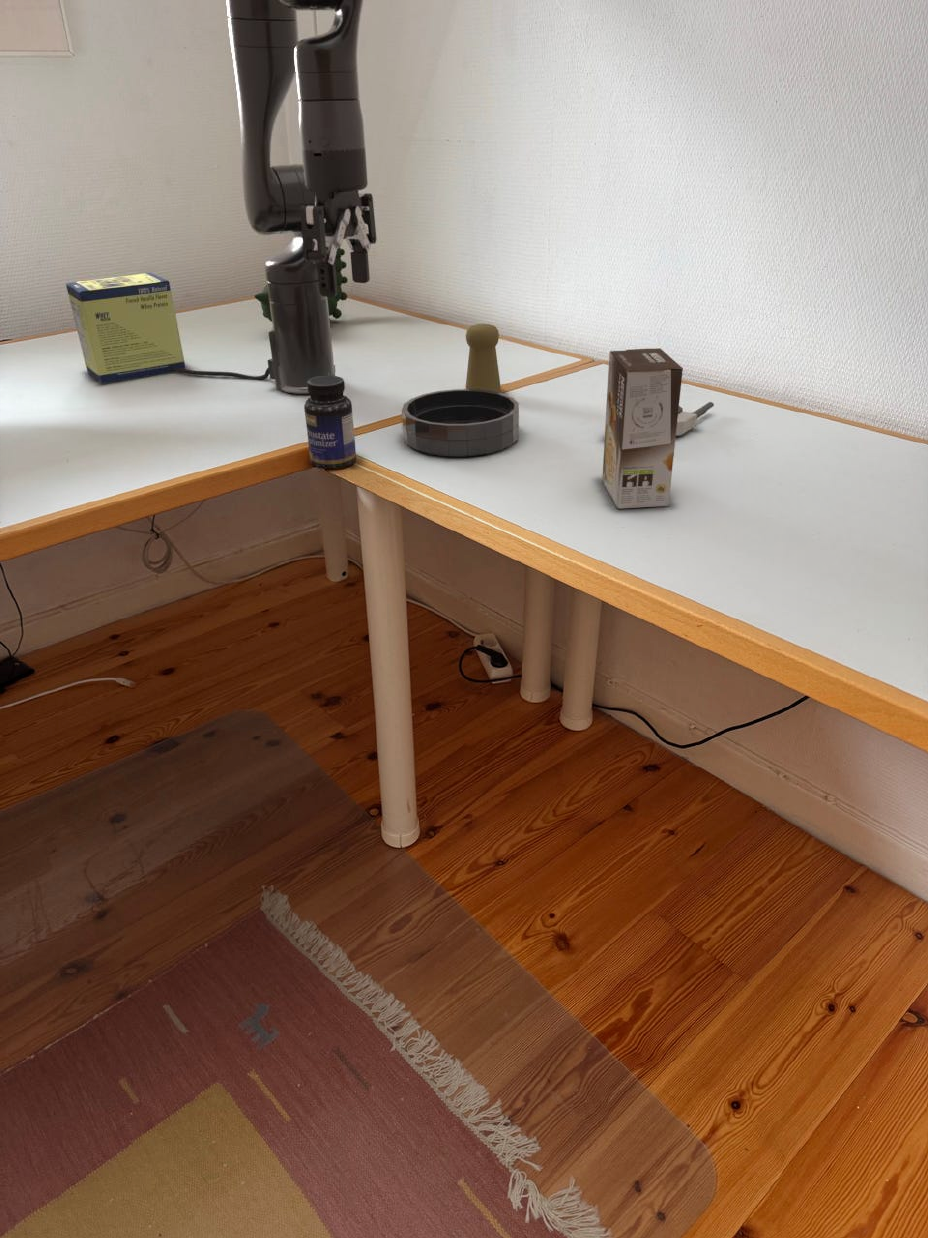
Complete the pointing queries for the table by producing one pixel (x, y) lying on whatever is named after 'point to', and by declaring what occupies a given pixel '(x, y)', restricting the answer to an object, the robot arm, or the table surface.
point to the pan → (460, 422)
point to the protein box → (126, 326)
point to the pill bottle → (329, 424)
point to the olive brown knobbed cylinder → (482, 358)
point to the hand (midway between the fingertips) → (345, 288)
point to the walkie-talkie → (690, 418)
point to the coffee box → (640, 426)
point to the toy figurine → (331, 301)
